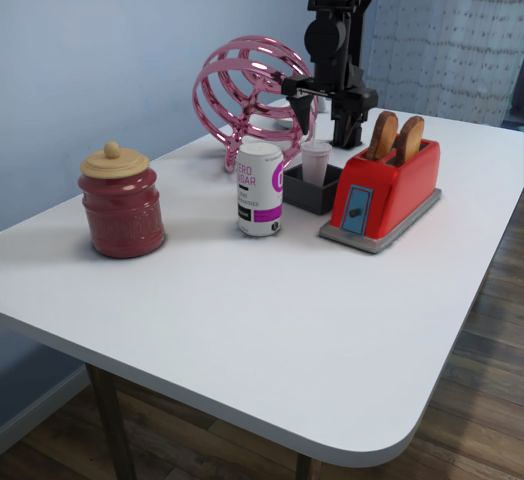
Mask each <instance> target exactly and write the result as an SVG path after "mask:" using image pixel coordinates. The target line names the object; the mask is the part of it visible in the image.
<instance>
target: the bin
mask: <svg viewBox="0 0 524 480" xmlns="http://www.w3.org/2000/svg"><path fill="white" fill-rule="evenodd" d="M343 169H344V167H339V166H336V165H333V164H330V163H328V164H327V168H326V173H325V178H324V182H323V187H319V186H316V185H313V184H310V183H308V182H305V181H303V170H302V163H299V164H297V165H295V166H292V167H290V168H288V169H286V170H283V190H282V202H285V203H286V204H287V203H288V204H290V205H293V206H295V207H298V208H301V209H304V210H306V211H309V212H311V213H314V214H316V215H318V216H321V215H324V214H325V213H327V212H329V211H332V210H333V205H334V200H335V195H336V190H337V186H338V182H339V178H340V175H341V173H342V171H343Z"/></svg>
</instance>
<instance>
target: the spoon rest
mask: <svg viewBox="0 0 524 480" xmlns="http://www.w3.org/2000/svg"><path fill="white" fill-rule="evenodd" d="M289 105H290V103H289V101H287V102H285V103H284V104H282V105H280V106H279V107H287V106H289ZM311 106H312V108H313V111H314V99H313V100H312V103H311ZM318 112H327V101H326V97H321V96H318ZM274 120H275V122H276V123H277V124H278V125H280V126H281V127H283V128H286V129H287V130H290V129H291V128H292V127H293V120H292V118H285V119H274Z"/></svg>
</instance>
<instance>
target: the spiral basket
mask: <svg viewBox="0 0 524 480" xmlns="http://www.w3.org/2000/svg"><path fill="white" fill-rule="evenodd" d="M232 50H233V51H234V50H239V51H238V54H237V57H228V55H229V52H230V51H232ZM252 51H254V52H255V51H256V52H258V53H263V54H265V55H268V56H271V57H272V58H275V59H276V60H278V61H281V62H282V63H283V64H285V65H286V66H288V67H289V68H290V69H292V73H291V76H293V75H297V74H301V75H306V76H311V77H313V75H312V72H311V70H310V68H309V66H308V64H307V63H306V61H305V60H304V59H303V58H302V56H301V55H300V54H299V53H298V52H297V51H296V50H294V49H293V48H292V47H291V46H289V45H288V44H286V43H284V42H283V41H281V40H279V39H277V38H273V37H271V36H267V35H262V34H245V35H241V36H238V37H235V38H233V39H231V40H229V41H228V42H226V43H224V44H222V45H220V46H219V47H217V48H216V49H214V50H213V51H212V52H211V53H210V54H209V55H208V56H207V58H206V59H205V61H204V63H203V65H202V67H201V70H200V71H199V72H198V74H197V75H196V77H195V79H194V82H193V85H192V90H191V102H192V107H193V110H194V113H195V115H196V117H197V119H198V120H199V122H200V124H201V125H202V126H203V127H204V129H205V130H206V131H207V132H208V133H209V134H210V135H211V136H212V137H213V138H214V139H216V140H217V141H218V142H220V143H221V144H222V145H223V146H224V147H225V149H226V153H225V158H224V167H225V169H226V171H227V172H232V171H233V170H234V166H233V165H234V163H235V159H236V156H237V153H238V151H239V149H240V146H241V145H242V144H244V143H243V138H244V137H247V136H249V137H251V138H254V139H258V140H260V141H268V142H278V143H279V142H290V145H289V148H287V149H285V150H281V152H282V154H283V170H284V169H286V167H288V166H289V164H290V163H291V162H292V161H293V160H294V158H296V156H299V154H301V152H300V145H301V144H300V143H301V140H302V138H303V137H304V135H303V133H302V131H301V128H300V126H299V123H298V120H297V118H296V116H295V113H294V111H293V109H292V107H291V105H289V106H287V107H280V106H272V105H266V104H263V103H261V102H259V95H260V94H261V92H264V93H267V94H271V95H281V83H282V81H283V80H284V78H286V77H288V76H287V75H286V74H285V73H284V72H283V70H282V69H281V70H278V69H276V68H274V67H272V66H270V65H268V64H265V63H263V62H261V61H256V60H252V59H250V54H251V52H252ZM216 56H217V57H216ZM215 57H216V60H215V61H212V60H214V58H215ZM229 71H240V72H241V74H242V76H243V77H244V79H245V80H246V81H247V82H248V83H249V84H251V85H252V88H253V89H252V91H251V93H249V94H248V95H246V94H245V93H243V91H241V90H240V89H239V88H238V86H237V85H236V84H235V83H234V81H233V80H232V78H231V76H230V74H229ZM214 73H217V77H218V80H219V82H220V84H221V86H222V88H223V89H224V91H225V92H226V93H227V94H228V96H229V97H230V98H231V99H232V100H233V101H234V102H236V103H237V104H238V105H239V107H240V108H241V113H240V114H239V115H238V116H236V115H234V114H233V113H232V112H230V111H229V110H228V109H227V108H226V107H225V106H224V105H223V104H222V103H221V102H220V101H219V99H218V98H217V96H216V94H215V93H214V91H213V89H212V86H211V83H210V80H209V76H210V75H212V74H214ZM199 85H200V88H201V91H202V94H203V96H204V98H205V100H206V102H207V103H208V105H209V107H210V108H211V109H212V110H213V112H214V113H215V114H216V115H217V116H218V117H219V118H220V119H221V120H222V121H223V122H224V123H226V124H227V125H228V126H229V127H230V128H231V129H232V133H231V135H227V134H225V133H223V131H222V130H220V129H219V128H218V127H216V126H215V125H214V123H213V122H211V120H210V119H209V118H208V116H207V115H206V114H205V112H204V111H203V109H202V107H201V105H200V101H199V98H198V88H199ZM313 99H314V111H313V108H312V106H310V122H309V131H308V135H307V137H306V139H305V140H304V141H302V143H304V142H307V141H312V138H313V123H316V122H317V118H318V114H319V111H318V96H317V95H315V96H314V98H313ZM252 115H258V116H260V117H263V118H267V119H273V120H275V119H285V118H292V120H293V127H292V128H291V129H286V130H269V129H265V128H260V127H258V126H254V125H253V124H251V122H250V118H251V117H252Z"/></svg>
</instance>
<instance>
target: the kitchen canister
mask: <svg viewBox="0 0 524 480" xmlns="http://www.w3.org/2000/svg"><path fill="white" fill-rule="evenodd" d="M150 164H151V161H150V159H149V158H148V157H147V156H146V155H144V154H142V153H140V152H139V151H138V150H135V149H133V148H127V147H120V145H119V144H118V142H116V141H113V140H111V141H107V142H105V144H104V146H103V149H100V150H99V149H98V150H96V151H94V152H91V153H90V154H89V155H87V157H86V158H85V159H83V160H82V161H81V162H80V163H79V165H78V168H79V171H80V173H81V174H80V175H79V176H78V178H77V186H78V188H79V189H80V190H82V194H83V197H82V199H81V204H82V206H83V207H84V211H85V215H86V219H87V223H88V227H89V236H90V239H91V243H92V244H93V246H94V249H95V250H96V251H97V252H98V253H100V254H102V255H104V256H107V257H110V258H111V257H112V258H118V259H119V258H120V259H123V258H126V259H128V258H134V257H135V258H136V257H140V256H143V255H147V254H149V253H151V252H153V251H155V250H157V249H158V248H159V247H161V245H162V244H163V242H164V239H165V225H164V223H163V217H162V211H161V202H160V191H159V190H158V188H157V187H156V181H157V179H158V174H157V171H156V170H154V168H152V167H150Z"/></svg>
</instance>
